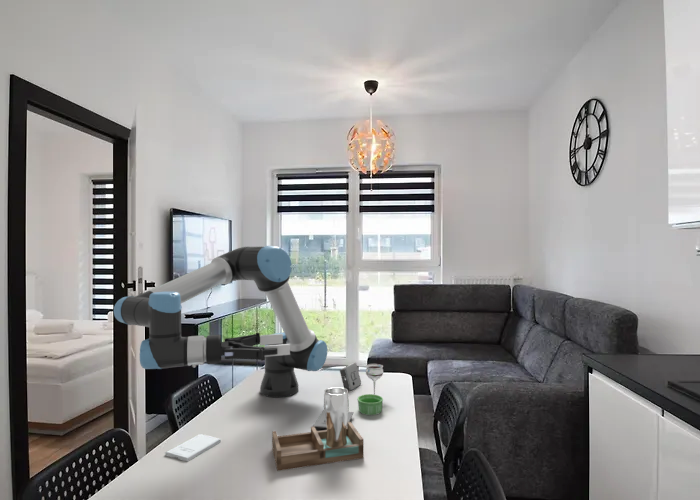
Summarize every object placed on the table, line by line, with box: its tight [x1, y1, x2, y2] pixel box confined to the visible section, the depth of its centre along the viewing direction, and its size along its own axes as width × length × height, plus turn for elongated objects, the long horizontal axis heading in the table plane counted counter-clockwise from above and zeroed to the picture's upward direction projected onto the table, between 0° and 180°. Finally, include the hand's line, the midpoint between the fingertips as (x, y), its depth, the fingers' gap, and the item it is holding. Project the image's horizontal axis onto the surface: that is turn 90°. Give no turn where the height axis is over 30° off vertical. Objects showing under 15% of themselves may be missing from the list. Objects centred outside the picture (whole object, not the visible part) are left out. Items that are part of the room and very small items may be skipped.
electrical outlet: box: [312, 409, 354, 430], centre depth 132 cm, size 13×10×2 cm
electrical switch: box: [339, 362, 362, 391], centre depth 169 cm, size 9×5×9 cm, turn 152°
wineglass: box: [365, 363, 384, 395], centre depth 156 cm, size 7×7×12 cm
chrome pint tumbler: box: [323, 386, 350, 448], centre depth 113 cm, size 7×7×15 cm
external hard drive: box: [164, 433, 221, 462], centre depth 115 cm, size 2×8×12 cm
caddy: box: [271, 421, 365, 472], centre depth 112 cm, size 12×23×5 cm, turn 107°
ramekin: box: [356, 393, 384, 416], centre depth 143 cm, size 9×9×4 cm
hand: (286, 343), depth 114 cm, fingers open, 13 cm apart
